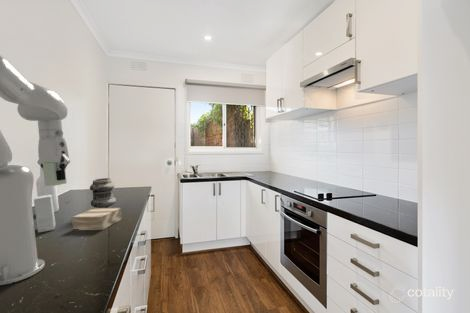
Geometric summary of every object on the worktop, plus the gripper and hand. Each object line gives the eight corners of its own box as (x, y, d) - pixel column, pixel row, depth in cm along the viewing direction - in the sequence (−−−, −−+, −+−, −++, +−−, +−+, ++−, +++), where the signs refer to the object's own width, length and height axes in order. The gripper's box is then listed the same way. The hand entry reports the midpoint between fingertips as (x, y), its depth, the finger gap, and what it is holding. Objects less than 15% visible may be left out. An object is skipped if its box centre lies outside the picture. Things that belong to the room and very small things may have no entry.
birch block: (102, 230, 103) (101, 217, 103) (73, 230, 105) (71, 217, 105) (121, 219, 117) (120, 207, 117) (95, 219, 119) (94, 208, 119)
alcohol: (35, 214, 133) (29, 160, 130) (51, 209, 141) (46, 158, 139) (47, 215, 130) (41, 159, 128) (62, 210, 138) (57, 158, 136)
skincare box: (54, 230, 106) (51, 196, 105) (36, 233, 103) (33, 199, 102) (55, 224, 113) (52, 193, 112) (39, 227, 110) (36, 195, 109)
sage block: (55, 185, 95) (53, 162, 94) (44, 185, 96) (42, 163, 95) (66, 183, 100) (64, 161, 99) (56, 183, 101) (54, 162, 100)
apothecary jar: (97, 216, 123) (94, 181, 122) (87, 213, 131) (84, 180, 129) (120, 210, 133) (118, 178, 132) (110, 207, 140) (107, 176, 139)
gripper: (76, 134, 99) (80, 178, 100) (42, 136, 102) (46, 178, 103) (60, 133, 91) (64, 181, 92) (24, 136, 95) (28, 182, 96)
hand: (55, 179), depth 98 cm, fingers closed on sage block, 5 cm apart
